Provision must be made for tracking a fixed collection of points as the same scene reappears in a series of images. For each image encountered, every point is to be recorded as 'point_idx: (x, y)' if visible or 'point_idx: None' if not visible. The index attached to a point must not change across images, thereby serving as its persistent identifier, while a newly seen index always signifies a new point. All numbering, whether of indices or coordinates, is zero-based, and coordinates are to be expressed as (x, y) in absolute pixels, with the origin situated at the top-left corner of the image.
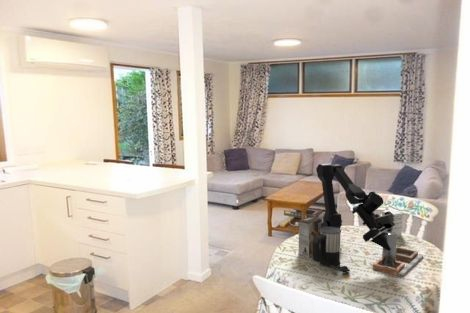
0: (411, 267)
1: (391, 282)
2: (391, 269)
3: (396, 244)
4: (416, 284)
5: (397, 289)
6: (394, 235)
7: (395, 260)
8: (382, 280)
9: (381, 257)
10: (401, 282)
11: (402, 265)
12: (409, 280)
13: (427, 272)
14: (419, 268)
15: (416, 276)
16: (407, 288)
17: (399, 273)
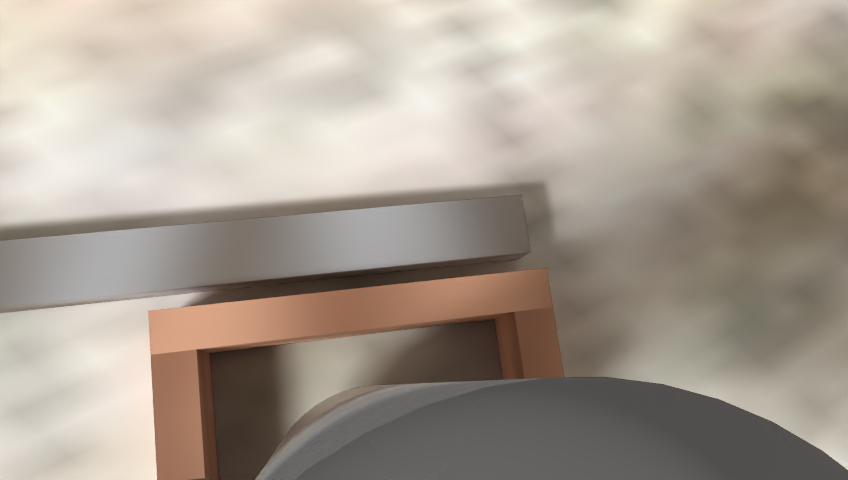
0: (106, 236)
1: (748, 232)
2: (557, 348)
3: (383, 392)
4: (564, 10)
5: (840, 110)
6: (714, 455)
7: (367, 386)
8: (789, 334)
9: None
10: (653, 150)
11: (277, 298)
12: (526, 105)
13: (88, 30)
14: (15, 158)
15: (341, 87)
16: (734, 44)
17: (513, 240)
